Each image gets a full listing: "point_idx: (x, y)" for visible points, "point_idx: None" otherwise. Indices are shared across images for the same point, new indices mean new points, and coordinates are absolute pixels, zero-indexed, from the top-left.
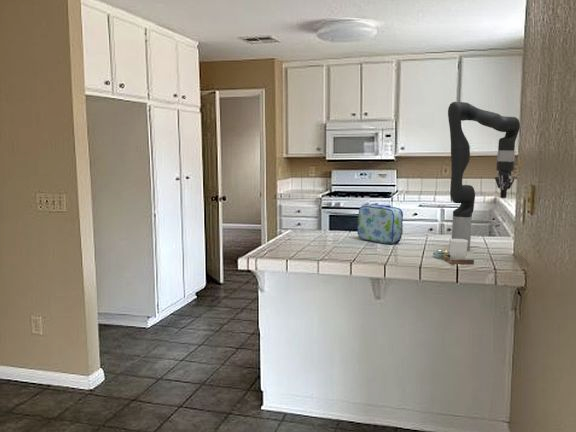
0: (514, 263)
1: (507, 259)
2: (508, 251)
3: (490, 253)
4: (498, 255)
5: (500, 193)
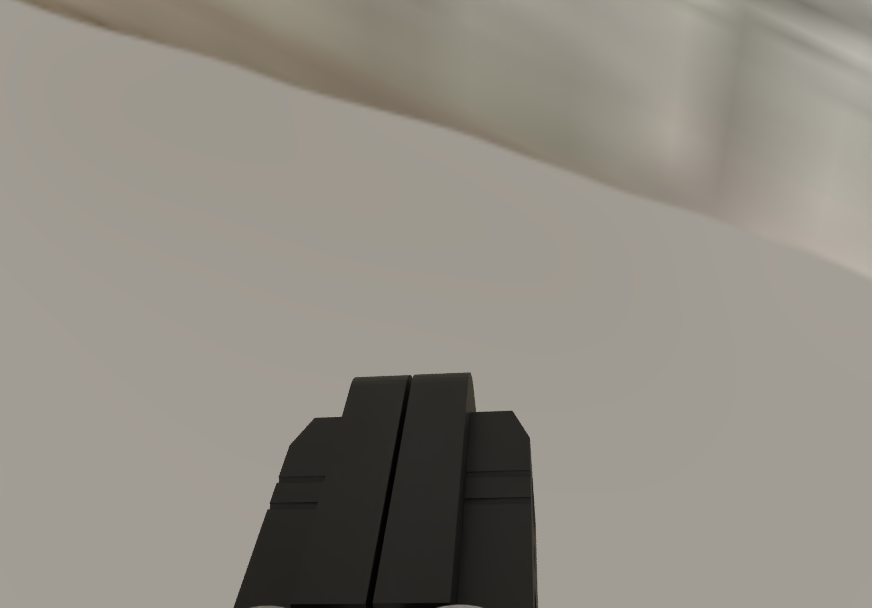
0: (274, 51)
1: (464, 68)
2: (861, 263)
3: (799, 20)
4: (676, 64)
5: (459, 468)
